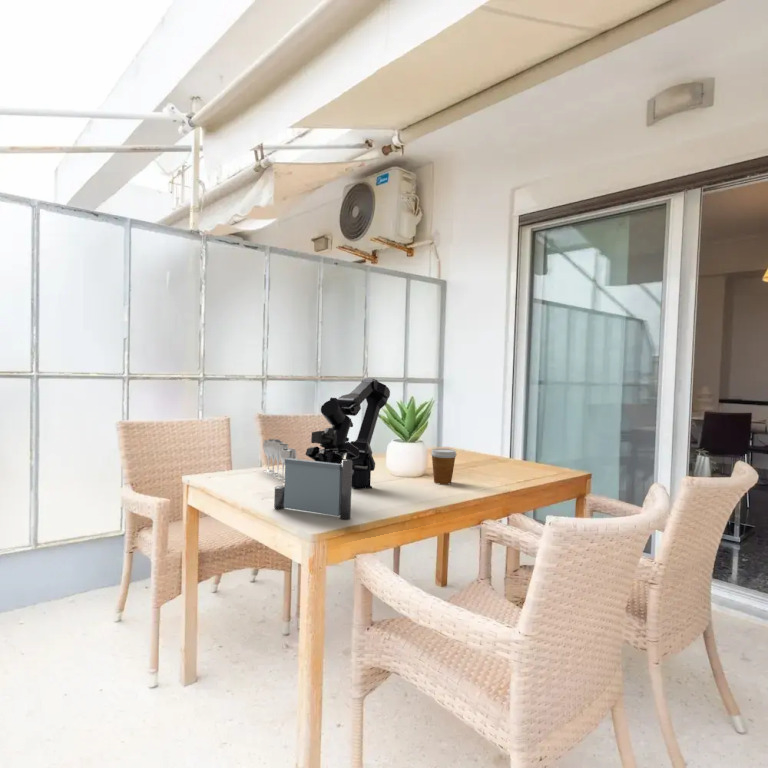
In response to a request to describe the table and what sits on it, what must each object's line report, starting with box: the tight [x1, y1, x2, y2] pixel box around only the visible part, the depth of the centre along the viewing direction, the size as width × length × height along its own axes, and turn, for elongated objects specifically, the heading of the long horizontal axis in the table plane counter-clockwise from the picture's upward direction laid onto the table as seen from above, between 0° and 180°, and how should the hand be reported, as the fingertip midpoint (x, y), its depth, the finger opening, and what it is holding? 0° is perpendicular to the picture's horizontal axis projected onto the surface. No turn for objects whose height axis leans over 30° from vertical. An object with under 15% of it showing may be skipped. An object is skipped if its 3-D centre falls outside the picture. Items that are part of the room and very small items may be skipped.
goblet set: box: [262, 438, 298, 483], centre depth 193 cm, size 28×6×13 cm, turn 30°
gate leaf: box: [284, 458, 342, 517], centre depth 146 cm, size 18×2×14 cm, turn 68°
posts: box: [273, 458, 352, 521], centre depth 147 cm, size 24×3×16 cm, turn 68°
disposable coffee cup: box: [430, 448, 457, 485], centre depth 192 cm, size 10×10×12 cm
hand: (323, 477), depth 156 cm, fingers closed
